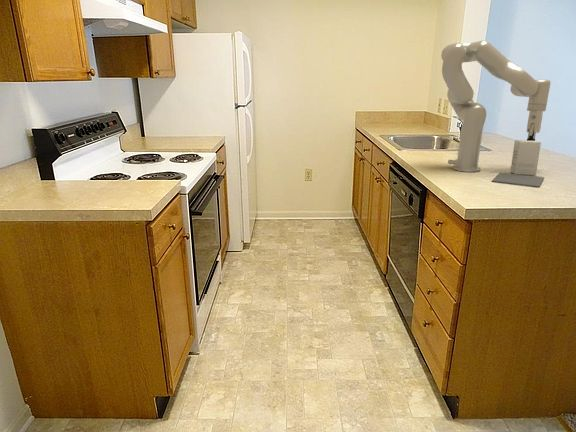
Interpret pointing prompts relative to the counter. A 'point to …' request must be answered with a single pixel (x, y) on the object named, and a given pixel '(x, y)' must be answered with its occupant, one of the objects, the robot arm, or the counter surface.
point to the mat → (518, 179)
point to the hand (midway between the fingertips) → (529, 147)
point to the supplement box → (525, 157)
